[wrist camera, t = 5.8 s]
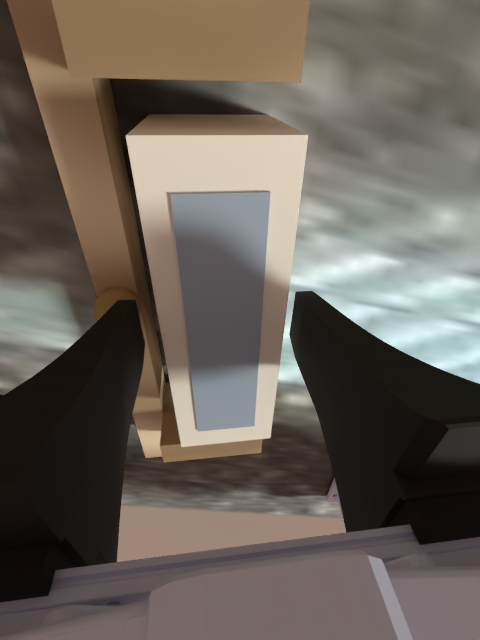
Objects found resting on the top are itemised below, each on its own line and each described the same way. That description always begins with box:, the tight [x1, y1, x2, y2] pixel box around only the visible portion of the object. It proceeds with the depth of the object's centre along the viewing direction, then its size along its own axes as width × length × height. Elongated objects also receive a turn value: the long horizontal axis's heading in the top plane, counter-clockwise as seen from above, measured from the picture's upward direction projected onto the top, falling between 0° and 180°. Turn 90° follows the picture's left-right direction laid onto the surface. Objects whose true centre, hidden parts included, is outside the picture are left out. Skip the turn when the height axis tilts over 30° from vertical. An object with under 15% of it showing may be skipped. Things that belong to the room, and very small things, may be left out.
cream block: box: [126, 114, 308, 447], centre depth 13 cm, size 12×4×5 cm, turn 179°
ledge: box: [7, 0, 310, 462], centre depth 13 cm, size 22×7×4 cm, turn 179°
